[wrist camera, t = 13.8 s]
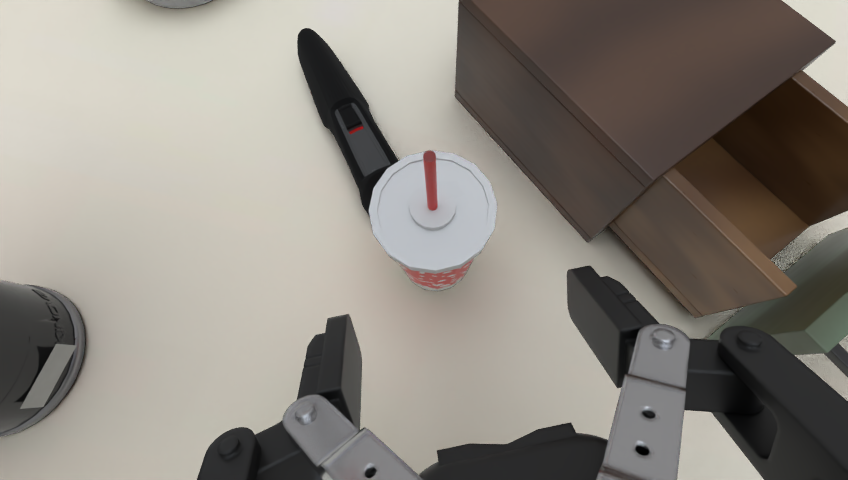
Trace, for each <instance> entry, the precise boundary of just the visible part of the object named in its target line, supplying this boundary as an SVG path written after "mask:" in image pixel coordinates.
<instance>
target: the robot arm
mask: <svg viewBox="0 0 848 480" xmlns="http://www.w3.org/2000/svg"><path fill="white" fill-rule="evenodd" d="M567 300H568V310H569V314H570V317H571V319H572V321H573V323H574V324H575V326H576V327H577V329H578V330H579V332H580V333H581V335H582V336H583V338H584V339H585V340H586V342H587V343H588V345H589V346H590V348H591V349H592V351H593V352H594V354H595V355H596V357H597V358H598V360H599V361H600V363H601V364H602V366H603V367H604V369H605V370H606V372H607V373H608V375H609V376H610V378H611V379H612V381H613V382H614V384H615V385H616V387H617V388H620V387H622V388H621V392H620V396H619V400H618V404H617V408H616V412H615V416H614V420H613V424H612V428H611V432H610V436H609V440H606V439H603V438H601V437H597V436H593V435H589V434H582V433H576V432H575V430H574V428H573V426H572V424H571V423H566V424H561V425H556V426H552V427H547V428H542V429H538V430H536V431H534V432H532V433H530V434H527V435H525V436H523V437H521V438H519V439H517V440H515V441H513V442H511V443H509V444H466V445H461V446H456V447H452V448H447V449H442V450H437V454H438V461H439V462H437V463H435V464H433V465H431V466H430V467H428V468H427V469H425V470H424V471H423V472H422V473H420V474H419V475H418V474H417V473H415V472H414V471H413V470H412V469H411V468H410V467H409V466H408V465H407V464H406V463H405V462H404V461H402V460H401V459H400V458H399V457H398V456H397V455H396V454H395V453H394V452H393V451H392V450H391V449H389V448H388V447H387V446H386V445H385V444H384V443H383V442H382V441H381V440H380V439H379V438H378V437H376V436H375V435H374V434H373V433H372V432H371V431H370V430H369V429H367V428H363V429H361V430H360V410H361V379H362V357H361V351H360V347H359V344H358V340H357V337H356V334H355V331H354V327H353V324H352V321H351V318H350V316H349V314H346V315H341V316H336V317H331V318H328V319H327V325H326V331H325V333H323V334H318V335H315V336H314V338H313V339H312V341H311V342H310V344H309V345H308V347H307V352H306V359H305V362H304V368H303V372H302V377H301V382H300V387H299V392H298V397H297V400H296V401H295V402H294V403H292V404H291V405H290V406H289V407H288V409H287V410H286V412H285V413H284V416H283V420H282V421H281V422H279V423H278V424H276V425H274V426H272V427H270V428H268V429H266V430H264V431H262V432H260V433H258V434H256V435H254V433H253V431H252V430H250V429H248V428H244V427H239V428H235V429H231V430H229V431H227V432H225V433H223V434H222V435H221V436H219V437H218V438H217V439H216V440H215V441H214V442H213V443H212V444H211V445H210V446H209V448H208V450H207V452H206V454H205V457H204V460H203V463H202V466H201V469H200V472H199V475H198V478H197V480H677V474H678V464H679V455H680V445H681V435H682V425H683V416H684V410H693V411H707V412H712V414H713V415H714V416H715V417H716V419H717V420H718V421H719V423H720V424H721V425H722V426H723V428H724V429H725V430H726V431H727V433H728V434H729V435H730V437H731V438H732V439H733V440H734V442H735V443H736V444H737V445H738V447H739V448H740V449H741V451H742V452H743V453H744V454H745V456H746V457H747V458H748V460H749V461H750V462H751V463H752V465H753V466H754V467H755V468H756V470H757V471H758V472H759V474H760V475H761V476H762V477H763V479H764V480H848V401H847V400H845V399H844V398H843V397H842V396H841V395H840V394H838V393H837V392H836V391H835V390H834V389H833V388H831V387H830V386H829V385H828V384H827V383H826V382H824V381H823V380H822V379H821V378H820V377H819V376H818V375H816V374H815V373H814V372H813V371H812V370H811V369H809V368H808V367H807V366H806V365H805V364H804V363H802V362H801V361H800V360H799V359H798V358H797V357H795V356H794V355H793V354H792V353H791V352H790V351H789V350H787V349H786V348H785V347H784V346H783V345H782V344H780V343H779V342H778V341H777V340H776V339H775V338H773V337H772V336H771V335H769V334H768V333H766V332H764V331H762V330H759V329H756V328H753V327H748V326H731V327H728V328H725V329H724V330H723V331H722V332H721V334H720V338H719V340H704V339H689V338H688V337H687V335H686V334H685V333H683V332H682V331H681V330H679V329H677V328H675V327H672V326H669V325H664V324H659V323H658V322H657V321H656V319H655V318H654V317H653V316H652V315H651V314H650V313H649V312H648V311H647V310H646V309H645V308H644V307H643V306H642V305H641V304H640V303H639V302H638V301H636V298H635V297H634V296H633V295H632V294H631V293H629V291H628V290H627V289H626V288H625V287H624V286H623V285H622V284H621V283H620V282H618V281H616V280H614V279H612V278H610V277H608V276H605V277H600V276H599V275H598V274H597V273H596V272H595V270H594V269H593V268H592V267H591V266H585V267H580V268H575V269H570V270H568V272H567ZM84 349H85V332H84V326H83V323H82V319H81V317H80V314H79V313H78V311H77V309H76V308H75V306H74V305H73V304H72V303H71V302H70V300H68V299H67V298H66V297H65V296H63V295H62V294H60V293H58V292H56V291H54V290H51V289H48V288H43V287H39V286H34V285H22V284H17V283H13V282H8V281H4V280H0V437H2V436H7V435H11V434H14V433H17V432H20V431H22V430H24V429H26V428H28V427H30V426H32V425H34V424H35V423H37V422H38V421H40V420H41V419H42V418H44V417H45V416H46V415H48V414H49V413H50V412H51V411H52V410H53V409H54V408H55V407H56V406H57V405H58V404H59V403H60V401H61V400H62V399H63V398H64V397H65V395H66V394H67V392H68V391H69V389H70V388H71V386H72V384H73V383H74V381H75V379H76V377H77V374H78V372H79V369H80V366H81V363H82V360H83V355H84Z"/></svg>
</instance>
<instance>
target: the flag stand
mask: <svg viewBox="0 0 848 480" xmlns="http://www.w3.org/2000/svg"><path fill="white" fill-rule="evenodd" d="M146 1H148V2H151V3H153V4H155V5H158V6H162V7H166V8H187V7H193V6H197V5H201V4H205V3H207V2H210V1H212V0H146Z"/></svg>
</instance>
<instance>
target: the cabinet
mask: <svg viewBox="0 0 848 480" xmlns="http://www.w3.org/2000/svg"><path fill="white" fill-rule="evenodd" d="M835 42H836V41H835V40H833V39H832V38H831V37H829V36H828V35H827V34H825V33H824V32H823V31H822V30H820V29H819V28H818V27H816V26H815V25H814V24H812V23H811V22H810V21H808V20H807V19H806V18H804V17H803V16H802V15H800V14H799V13H798V12H796V11H795V10H794V9H792V8H791V7H790V6H788V5H787V4H786V3H784V2H783V1H782V0H459V7H458V32H457V57H456V82H455V97H456V98H457V99H458V100H459V101H460V102H461V104H462V105H463V106H464V107H465V108H466V109H467V110H468V111H469V112H470V113H471V115H472V116H473V117H474V118H475V119H476V120H477V121H478V122H479V123H480V124H481V126H482V127H483V128H484V129H485V130H486V131H487V132H488V133H489V134H490V135H491V137H492V138H493V139H494V140H495V141H496V142H497V143H498V144H499V145H500V146H501V148H502V149H503V150H504V151H505V152H506V153H507V154H508V155H509V156H510V157H511V159H512V160H513V161H514V162H515V163H516V164H517V165H518V166H519V167H520V168H521V170H522V171H523V172H524V173H525V174H526V175H527V176H528V177H529V178H530V179H531V181H532V182H533V183H534V184H535V185H536V186H537V187H538V188H539V189H540V190H541V192H542V193H543V194H544V195H545V196H546V197H547V198H548V199H549V200H550V201H551V203H552V204H553V205H554V206H555V207H556V208H557V209H558V210H559V211H560V212H561V214H562V215H563V216H564V217H565V218H566V219H567V220H568V221H569V222H570V223H571V225H572V226H573V227H574V228H575V229H576V230H577V231H578V232H579V233H580V234H581V236H582V237H583V238H584V239H585V240H586V241H587V242H589V241H591V240H592V239H593V238H594V237H596V236H597V235H598V234H600V233H601V232H602V231H604V230H605V229H606V228H607V227H609V226H608V225H609V224H610V223H611V222H612V221H613V220H614V219H615V218H616V217H617V216H619V215H620V214H621V213H622V212H623V211H624V210H625V209H626V208H627V207H628V206H629V205H630V204H632V203H633V202H634V201H635V200H636V199H637V198H638V197H639V196H640V195H641V194H642V193H643V192H645V191H646V190H647V189H648V188H649V187H650V186H651V185H652V184H653V183H654V182H655V181H656V180H658V179H659V178H660V177H661V176H663V175H664V174H665V173H667V172H668V171H669V170H671V169H672V168H673V167H675V166H676V165H677V164H678V163H680V162H681V161H682V160H684V159H685V158H686V157H688V156H689V155H690V154H692V153H693V152H694V151H696V150H697V149H698V148H699V147H701V146H702V145H703V144H705V143H706V142H707V141H709V140H710V139H711V138H713V137H714V136H715V135H717V134H718V133H719V132H720V131H722V130H723V129H724V128H726V127H727V126H728V125H730V124H731V123H732V122H734V121H735V120H736V119H737V118H739V117H740V116H741V115H743V114H744V113H745V112H747V111H748V110H749V109H751V108H752V107H753V106H755V105H756V104H757V103H758V102H760V101H761V100H762V99H764V98H765V97H766V96H768V95H769V94H770V93H772V92H773V91H774V90H776V89H777V88H778V87H779V86H781V85H782V84H783V83H785V82H786V81H787V80H789V79H790V78H791V77H793V76H794V75H795V74H797V73H798V72H799V71H800V70H802V71H803V70H804V69H805V68H806V67H808V66H809V65H810V64H811V63H812V62H813V61H815V60H816V59H817V58H818V57H819V56H821V55H822V54H823V53H824V52H825V51H826V50H828V49H829V48H830V47H831V46H832V45H833V44H835Z"/></svg>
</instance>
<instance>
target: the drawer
mask: <svg viewBox="0 0 848 480" xmlns="http://www.w3.org/2000/svg"><path fill="white" fill-rule="evenodd" d="M846 211H848V107H847V106H846V105H845V104H844V103H842V102H841V101H840V100H839V99H837V98H836V97H835V96H833V95H832V94H831V93H830V92H828V91H827V90H826V89H825V88H823V87H822V86H821V85H820V84H818V83H817V82H816V81H815V80H813V79H812V78H811V77H810V76H808V75H807V74H806V73H805V72H803V71H802V70H800V71H799V72H798V73H797V74H795V75H794V76H793V77H791V78H790V79H789V80H787V81H786V82H785V83H783V84H782V85H781V86H779V87H778V88H777V89H776V90H774V91H773V92H772V93H770V94H769V95H768V96H766V97H765V98H764V99H762V100H761V101H760V102H758V103H757V104H756V105H755V106H753V107H752V108H751V109H749V110H748V111H747V112H745V113H744V114H743V115H741V116H740V117H739V118H737V119H736V120H735V121H734V122H732V123H731V124H730V125H728V126H727V127H726V128H724V129H723V130H722V131H720V132H719V133H718V134H717V135H715V136H714V137H713V138H711V139H710V140H709V141H707V142H706V143H705V144H703V145H702V146H701V147H699V148H698V149H697V150H696V151H694V152H693V153H692V154H690V155H689V156H688V157H686V158H685V159H684V160H682V161H681V162H680V163H678V164H677V165H676V166H675V167H673V168H672V169H671V170H669V171H668V172H667V173H665V174H664V175H663V176H661V177H660V178H659V179H658V180H656V181H655V182H654V183H653V184H652V185H651V186H650V187H649V188H648V189H647V190H646V191H645V192H643V193H642V194H641V195H640V196H639V197H638V198H637V199H636V200H635V201H634V202H633V203H632V204H630V205H629V206H628V207H627V208H626V209H625V210H624V211H623V212H622V213H621V214H620V215H619V216H617V217H616V218H615V219H614V220H613V221H612V222H611V223H610V224H609V225H608V226H609V227H610V228H611V229H612V230H613V231H614V232H615V233H616V234H617V235H618V236H619V237H620V238H621V239H622V240H623V242H624V243H625V244H626V245H627V246H628V247H629V248H630V249H631V250H632V251H633V252H634V253H635V254H636V255H637V256H638V258H639V259H640V260H641V261H642V262H643V263H644V264H645V265H646V266H647V267H648V268H649V269H650V270H651V271H652V272H653V274H654V275H655V276H656V277H657V278H658V279H659V280H660V281H661V282H662V283H663V284H664V285H665V286H666V287H667V288H668V290H669V291H670V292H671V293H672V294H673V295H674V296H675V297H676V298H677V299H678V300H679V301H680V302H681V303H682V304H683V305H684V307H685V308H686V309H687V310H688V311H689V312H690V313H691V314H692V315H693V316H694V317H695V318H698V317H702V316H705V315H709V314H713V313H718V312H722V311H726V310H730V309H735V308H739V307H743V306H745V307H743V308H742V309H741V310H740V311H739V312H738V313H736V314H735V315H734V316H733V317H732V318H731V319H729V320H728V321H727V322H726V323H725V324H724V325H722V326H721V327H720V328H719V329H718V330H717V331H715V332H714V333H713V334H712V335H711V336H710V337H708V338H707V339H706V340H719V338H720V334H721V332H722V331H723V330H724V329H725V328H728V327H731V326H748V327H753V328H756V329H759V330H762V331H764V332H766V333H768V334H769V335H771V336H772V337H773V338H775V339H776V340H777V341H778V342H779V343H780V344H782V345H783V346H784V347H785V348H786V349H787V350H789V351H790V352H791V353H792V354H793V355H804V354H820V353H824V354H825V355H826V356H827V357H828V358H829V359H830V360H831V361H832V362H833V363H834V364H835V365H836V366H837V367H838V368H839V369H840V370H841V371H842V372H843V373H844V374H845V375H846V376H847V377H848V352H847V351H846V350H845V349H844V348H843V347H841V346H840V345H839V344H838V343H839V342H840V341H841V340H842V339H843V338H844V337H846V336H847V335H848V228H845V229H843V230H840V231H837V232H835V233H832V234H829V235H828V236H826V237H825V238H824V239H823V240H822V241H821V242H819V243H818V244H817V245H816V246H815V247H814V248H812V249H811V250H810V251H809V252H808V253H807V254H805V255H804V256H803V257H802V258H801V259H800V260H798V261H797V262H796V263H795V264H794V265H792V266H791V267H790V268H789V269H788V270H787V271H785V272H784V273H783V272H782V271H781V270H780V269H779V268H778V267H777V266H776V265H775V264H774V263H773V262H772V261H771V260H770V259H771V258H772V257H774V256H775V255H776V254H777V253H778V252H780V251H781V250H782V249H783V248H784V247H786V246H787V245H788V244H789V243H790V242H791V241H793V240H794V239H795V238H796V237H797V236H799V235H800V234H801V233H802V232H803V231H804V230H806V229H807V228H808V227H809V226H812V225H814V224H816V223H819V222H821V221H824V220H826V219H829V218H831V217H833V216H836V215H838V214H841V213H843V212H846Z"/></svg>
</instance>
